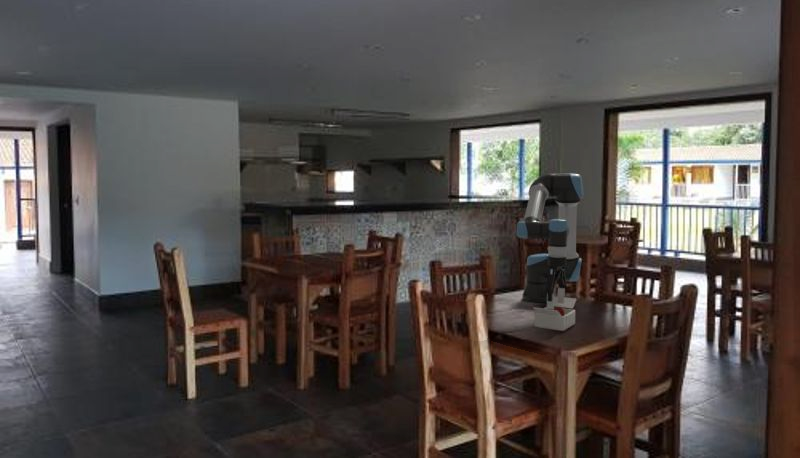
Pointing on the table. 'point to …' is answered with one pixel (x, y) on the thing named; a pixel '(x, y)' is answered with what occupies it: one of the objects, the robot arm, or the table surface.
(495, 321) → the table surface
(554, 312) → the flap
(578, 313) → the table surface
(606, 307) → the table surface
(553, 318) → the carton
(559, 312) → the apple
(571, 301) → the flap
